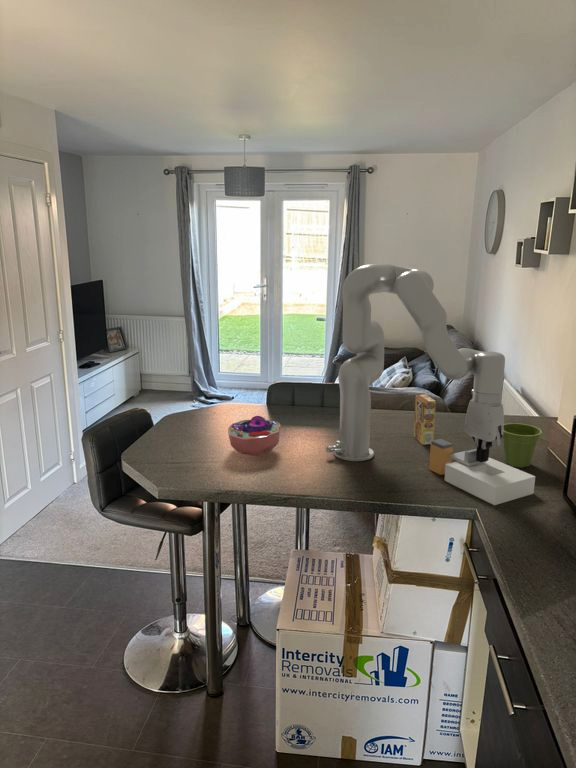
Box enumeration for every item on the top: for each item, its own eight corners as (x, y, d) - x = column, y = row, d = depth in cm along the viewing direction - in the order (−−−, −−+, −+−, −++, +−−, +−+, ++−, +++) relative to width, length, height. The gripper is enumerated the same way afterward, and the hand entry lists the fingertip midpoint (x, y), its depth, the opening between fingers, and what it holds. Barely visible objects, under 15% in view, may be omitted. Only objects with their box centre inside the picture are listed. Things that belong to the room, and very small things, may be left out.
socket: (494, 505, 146) (496, 487, 144) (444, 480, 161) (445, 464, 160) (533, 493, 153) (535, 476, 151) (481, 470, 168) (483, 455, 167)
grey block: (468, 466, 158) (470, 453, 157) (448, 457, 164) (449, 444, 163) (486, 461, 161) (487, 449, 160) (465, 453, 167) (466, 441, 166)
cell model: (215, 458, 177) (214, 423, 174) (247, 439, 195) (246, 407, 192) (263, 467, 170) (263, 431, 167) (291, 446, 188) (291, 414, 185)
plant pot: (491, 456, 180) (494, 422, 177) (529, 457, 179) (532, 423, 177) (504, 470, 168) (507, 435, 165) (544, 471, 168) (548, 435, 165)
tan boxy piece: (440, 475, 165) (443, 445, 163) (429, 469, 169) (430, 440, 167) (451, 472, 167) (453, 443, 165) (439, 466, 171) (441, 438, 169)
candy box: (433, 444, 190) (436, 400, 186) (421, 445, 190) (424, 401, 186) (424, 436, 199) (426, 394, 195) (412, 436, 198) (415, 394, 194)
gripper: (456, 393, 158) (452, 454, 162) (499, 405, 145) (493, 472, 150) (476, 390, 162) (471, 450, 166) (519, 401, 149) (513, 467, 153)
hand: (482, 460), depth 158 cm, fingers closed
